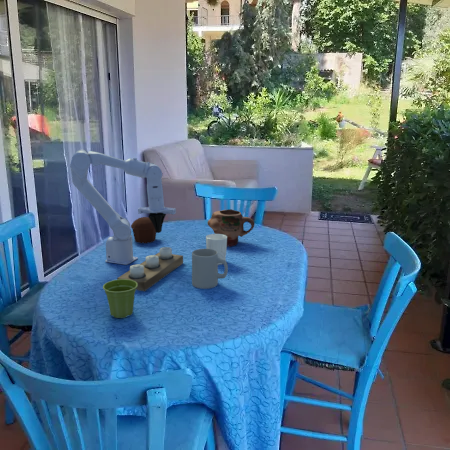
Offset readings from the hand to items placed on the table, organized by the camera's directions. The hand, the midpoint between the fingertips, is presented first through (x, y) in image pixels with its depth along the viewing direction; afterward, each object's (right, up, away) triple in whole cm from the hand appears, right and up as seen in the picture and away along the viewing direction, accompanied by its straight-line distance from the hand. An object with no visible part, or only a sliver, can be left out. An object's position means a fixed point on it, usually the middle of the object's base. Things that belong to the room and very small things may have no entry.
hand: (158, 232), depth 170 cm
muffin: (-10, -4, +25) cm, 27 cm away
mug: (+20, -17, -22) cm, 34 cm away
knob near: (-4, -14, -23) cm, 27 cm away
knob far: (+3, -9, -5) cm, 11 cm away
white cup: (+22, -11, -1) cm, 25 cm away
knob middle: (0, -11, -14) cm, 18 cm away
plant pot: (-4, -23, -43) cm, 49 cm away
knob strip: (0, -14, -14) cm, 20 cm away
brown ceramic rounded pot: (+27, -5, +22) cm, 36 cm away
